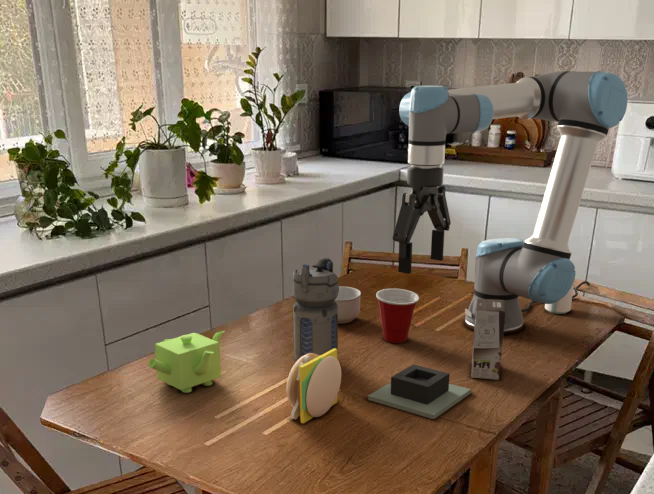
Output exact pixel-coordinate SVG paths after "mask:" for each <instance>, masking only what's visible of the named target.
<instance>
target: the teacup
mask: <svg viewBox="0 0 654 494" xmlns="http://www.w3.org/2000/svg"><path fill="white" fill-rule="evenodd" d="M361 295H362V293H361V290H359V289H357V288H355V287H351V286H339V293H338V296H337V298H336V299H335V302H336V303H337V304H338V324H340V325H341V324H348V323H350V322H352V321H354V320H355V319H357V317H358V316H359V314H360V311H361Z"/></svg>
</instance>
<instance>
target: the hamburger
mask: <svg viewBox="0 0 654 494" xmlns="http://www.w3.org/2000/svg"><path fill="white" fill-rule="evenodd" d="M341 382H342V367H341V364H340V362H339V359H338V360H337V349H335V348H334V349H332V350H330V351H328V352H326V353H324V354H322V355H317V354H314V353H309V354H306V355H304V356H302V357H301V358H299V359H298V360H297V361H296V362H295V363H294V364H293V365H292V367H291V369H290V371H289V373H288V377H287V380H286V388H285V389H286V390H285V391H286V397H287V401H288V403H289V404H290V406H291V407H292V410H291V412H290V419H292V420H297V419H298V418H299V416H300V424H305V423H306V422H309V421H310V420H312V419H313V418H319V417H322V416H324V415H325V414H326V413H328V411H329V410H330V409H331V407H333V406H334V405H335V404H337V403H338V394H339V391H340V389H341V388H340V387H341V384H342V383H341Z"/></svg>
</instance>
